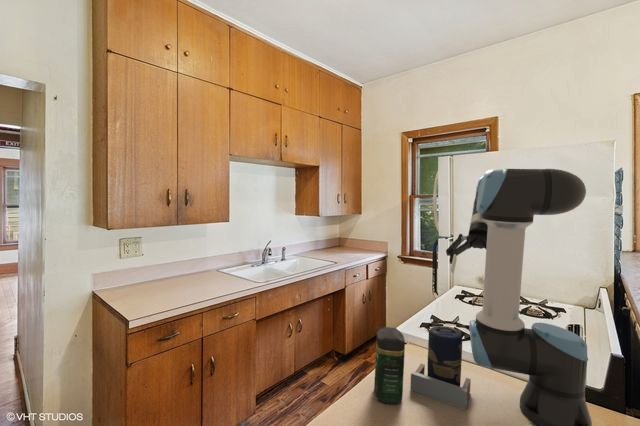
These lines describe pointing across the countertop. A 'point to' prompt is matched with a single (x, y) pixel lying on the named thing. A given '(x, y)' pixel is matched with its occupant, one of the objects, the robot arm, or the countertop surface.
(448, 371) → the canister
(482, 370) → the countertop surface
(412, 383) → the backstop wall
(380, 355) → the coffee jar
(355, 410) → the countertop surface
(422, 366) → the bracket
